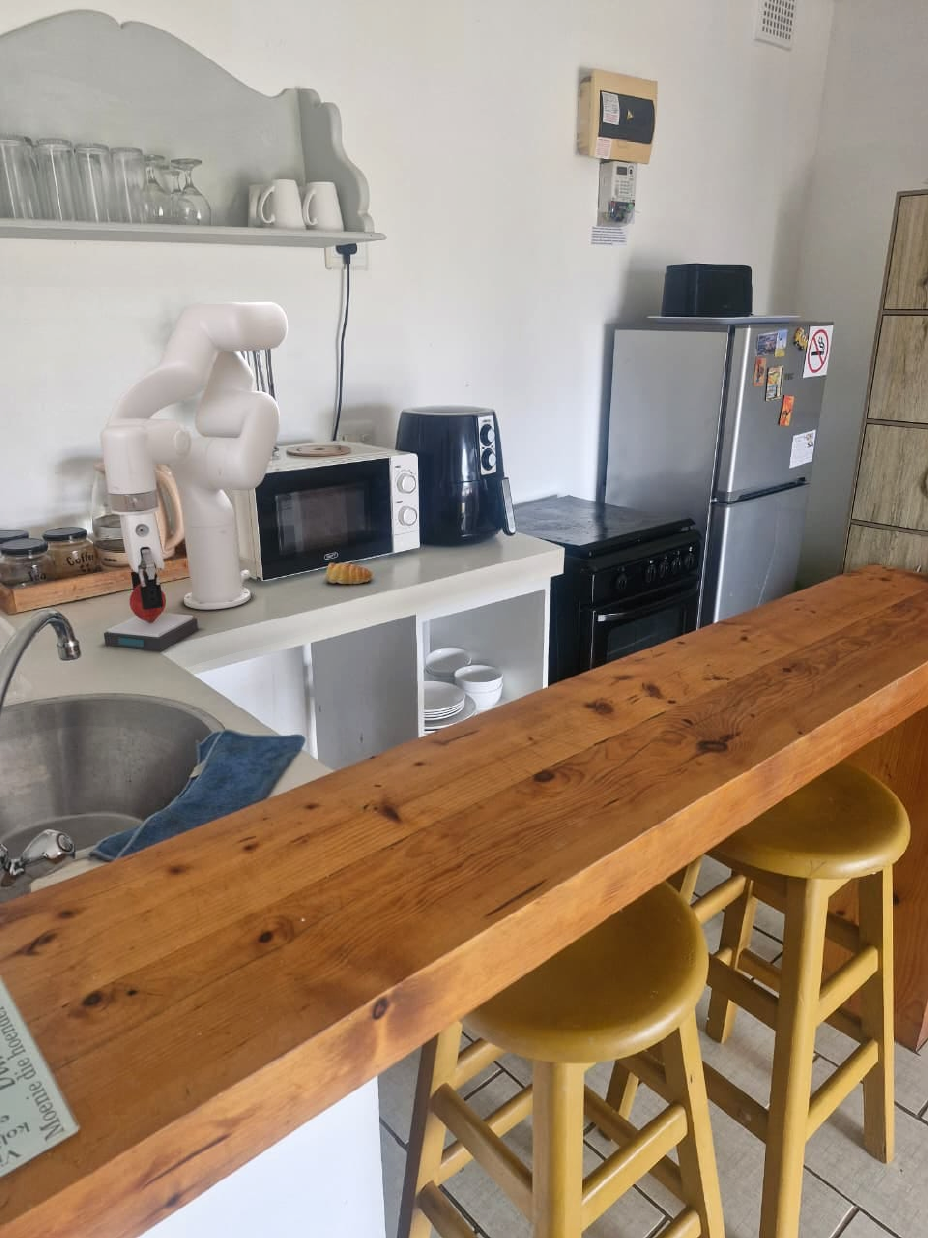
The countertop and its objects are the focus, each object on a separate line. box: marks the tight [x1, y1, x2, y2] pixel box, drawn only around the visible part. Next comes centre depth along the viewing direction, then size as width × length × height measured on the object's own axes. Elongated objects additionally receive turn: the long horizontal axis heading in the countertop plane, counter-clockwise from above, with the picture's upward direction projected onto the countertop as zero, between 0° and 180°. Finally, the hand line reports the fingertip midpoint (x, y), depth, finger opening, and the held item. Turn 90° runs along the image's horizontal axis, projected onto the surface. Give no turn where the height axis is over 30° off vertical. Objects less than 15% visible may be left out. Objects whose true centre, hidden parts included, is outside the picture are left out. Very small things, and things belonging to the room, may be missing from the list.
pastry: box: [324, 562, 373, 585], centre depth 181 cm, size 9×7×4 cm
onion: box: [129, 583, 167, 622], centre depth 148 cm, size 6×6×8 cm
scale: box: [103, 612, 199, 652], centre depth 150 cm, size 11×11×3 cm
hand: (148, 600), depth 149 cm, fingers open, 9 cm apart
